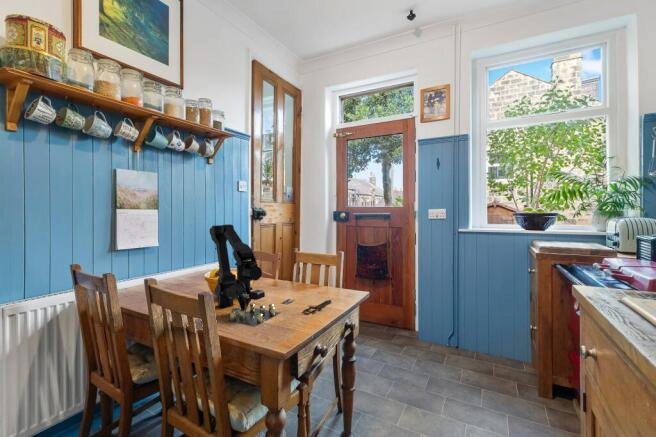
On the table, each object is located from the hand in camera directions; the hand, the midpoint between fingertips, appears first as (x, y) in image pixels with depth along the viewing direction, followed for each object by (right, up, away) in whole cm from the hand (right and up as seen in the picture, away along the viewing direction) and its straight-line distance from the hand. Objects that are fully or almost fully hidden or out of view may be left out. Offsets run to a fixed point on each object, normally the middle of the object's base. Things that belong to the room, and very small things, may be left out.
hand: (243, 312), depth 133 cm
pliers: (+13, -2, +15) cm, 20 cm away
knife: (+32, -2, +11) cm, 34 cm away
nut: (-3, -1, +1) cm, 4 cm away
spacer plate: (+5, -2, -3) cm, 6 cm away
